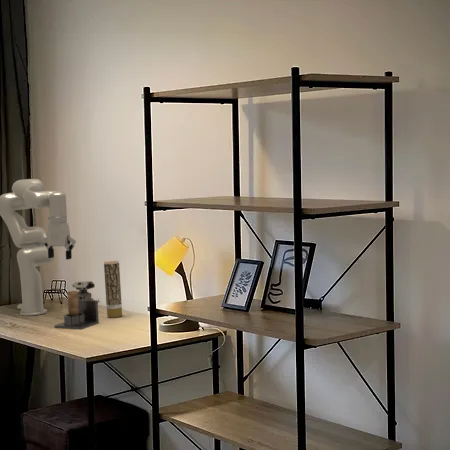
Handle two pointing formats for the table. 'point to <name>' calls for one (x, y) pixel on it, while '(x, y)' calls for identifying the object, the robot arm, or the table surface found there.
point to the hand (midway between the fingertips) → (59, 258)
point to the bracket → (82, 316)
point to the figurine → (84, 289)
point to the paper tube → (113, 289)
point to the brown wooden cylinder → (73, 303)
